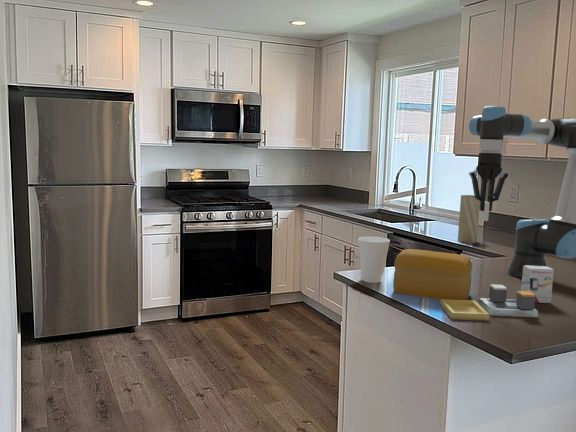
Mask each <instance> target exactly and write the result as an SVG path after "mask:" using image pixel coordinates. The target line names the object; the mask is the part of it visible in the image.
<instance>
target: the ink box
mask: <svg viewBox="0 0 576 432" xmlns="http://www.w3.org/2000/svg"><path fill="white" fill-rule="evenodd" d="M554 270H555V269H554V268H552V267H549V266H530V265H525V266H523V275H522V278H521V289H520V291H530V292H532V293H533V294H535V304H537V303H539V304H540V303H542V304H543V303H544V304H551V301H552V292H553V284H554V283H553V281H554Z"/></svg>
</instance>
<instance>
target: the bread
mask: <svg viewBox="0 0 576 432" xmlns="http://www.w3.org/2000/svg"><path fill="white" fill-rule="evenodd" d="M393 264H394V272H393V281H392V282H393V283H392V289H393V293H396V294H403V295H408V296H414V297H420V298H426V299H427V298H428V299H433V300H439V301H440V300H441V299H445V300H468V298H469V296H470V295H471V294H470V293H471V289H472V288H471V287H472V273H471V272H472V270H473V262H472V260H471V258H470V257H468V256H467V255H465V254H458V253H457V254H456V253H451V252H450V253H449V252H442V251H433V250H425V249H417V248H415V249H414V248H405V249H403V250H401V251H400V252H399V253H398V254H397V256H396V258H395V260H394V263H393Z"/></svg>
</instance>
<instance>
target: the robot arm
mask: <svg viewBox="0 0 576 432" xmlns="http://www.w3.org/2000/svg"><path fill="white" fill-rule="evenodd" d="M506 111H507V109H506V107H505V106H499V105H491V106H490V105H489V106H488V105H487V106H484V107H483V108H482V110H481V114H480V115H474V116H473V117H471V119H470V120H469V123H468V130H469V132H470V134H471V135H473V136H476V137H477V136H478V137H479V143H478V144H479V145H478V146H479V147H478V151H479V153H478V156H477V158H478V159H477V165H476V167H475V169H474V170H472V171H469V172H468V175H469V176H470V178H471V184H472V190H473V196H475V199H477V200H479V201H480V208H479V212H480V211H481V217H480V218H481V221H484V222H489V215H490V212H492V210H493V203H494V202H495V201H499V199H500V196H501V192H502V189H503V187H504V185H505V181H506V179H507V178H508V177H509V174H508V173H506V172H504V171H503V167H502V159H503V158H502V156H503V154H502V153H501V152H503V146H504V138H509V139H517V140H518V139H519V140H528V141H535V142H537V143H538V144H544V145H550V146H555V147H560V148H566V152H567V153H568V159H567V163H566V164H567V165H566V168H565V172H564V176H563V179H562V180H563V181H562V186H561V189H560V191H559V196H558V197H559V198H558V201H557V205H556V210H555V213H554V216H552V217H551V218H550V219H549V220H548V219H545V218H544V219H541V218H539V219H538V218H536V219H535V218H534V219H532V218H531V219H519V220H518V221H517V222H516V226H515V227H516V228H515V235H514V248H513V249H514V252H513V256H512V259H511V260H510V262H509V264H508V268H507V273H508V274H509V275H511V276H513V277H517V278H521V279H522V275H523V266H525V265H530V266H547V262H546V255H551V256H555V257H558V258H561V259H562V258H563V259H564V258H565V259H574V258H576V117H563V118H551V119H548V118H543V119H540V120H533V119H531V118H530V117H529V116H528V115H527V114H521V113H507V112H506ZM478 175H479V177H480V187H479V181H478ZM498 176H499V178H498V181H497V184H496V187H495V183H496V178H497V177H498ZM487 186H488V187H487ZM487 188H488V189H487ZM486 197H487V199H486ZM486 200H487V201H486ZM547 267H548V266H547Z"/></svg>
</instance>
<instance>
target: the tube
mask: <svg viewBox="0 0 576 432" xmlns="http://www.w3.org/2000/svg"><path fill="white" fill-rule="evenodd" d="M479 217H480V201H479V200H477V199H475V196H474V194H472V195H471V194H463V195H462V194H461V195H460V205H459V217H458V231H457V242H458V243H459V242H460V243H465V244H476V243H477V242H478V233H479V232H478V231H479V220H480V219H479Z"/></svg>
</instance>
